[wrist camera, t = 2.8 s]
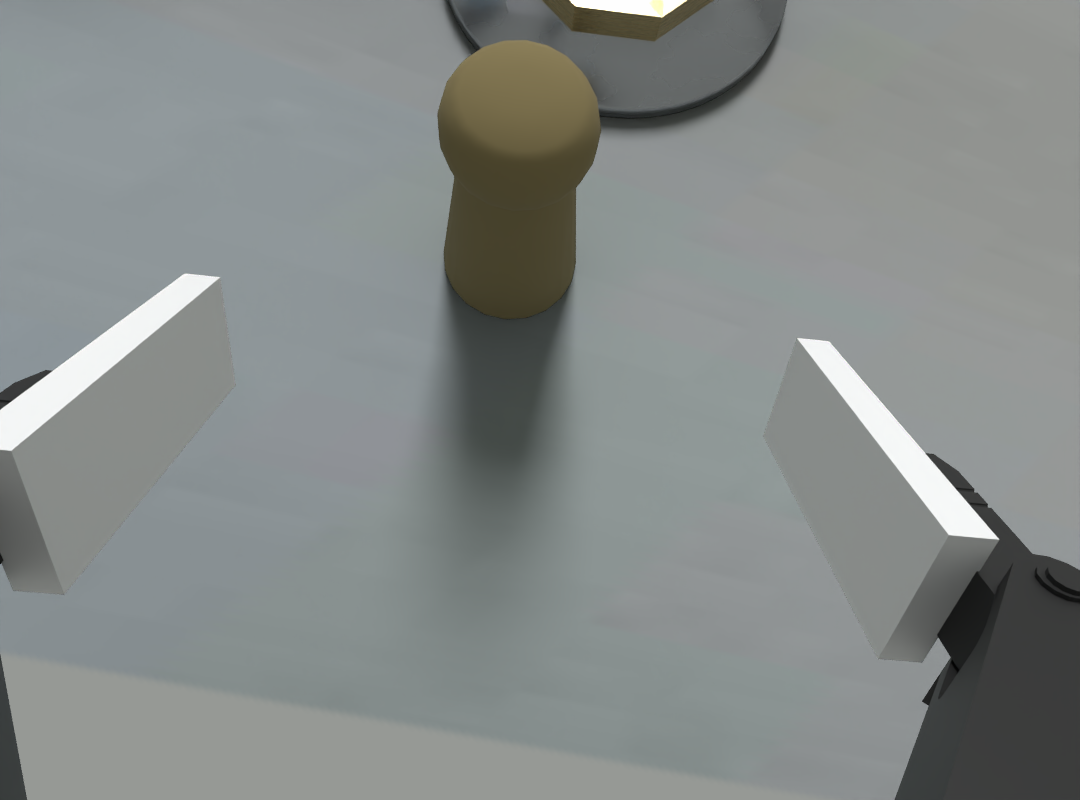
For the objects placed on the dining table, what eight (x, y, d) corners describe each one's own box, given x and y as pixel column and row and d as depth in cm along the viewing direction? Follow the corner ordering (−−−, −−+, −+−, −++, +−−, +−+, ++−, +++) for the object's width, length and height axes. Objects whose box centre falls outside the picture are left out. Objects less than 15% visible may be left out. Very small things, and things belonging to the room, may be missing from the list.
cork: (415, 262, 30) (375, 93, 19) (502, 174, 31) (510, -29, 20) (518, 345, 29) (535, 220, 18) (602, 252, 30) (663, 85, 20)
